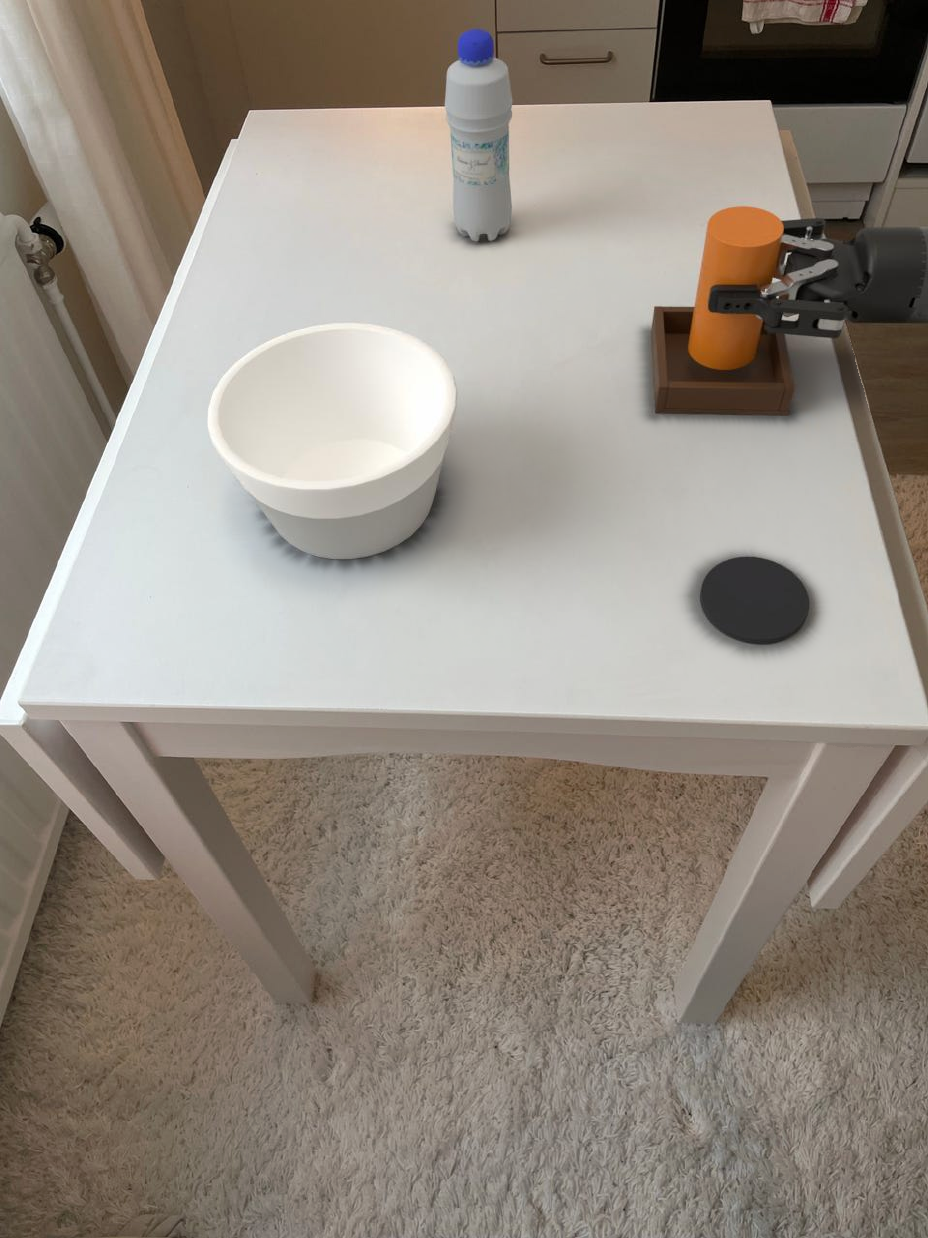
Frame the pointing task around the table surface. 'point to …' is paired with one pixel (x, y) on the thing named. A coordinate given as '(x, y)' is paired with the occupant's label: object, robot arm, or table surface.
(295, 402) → the bowl
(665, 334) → the tray
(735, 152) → the table surface
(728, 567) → the coaster
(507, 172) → the bottle
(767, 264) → the orange cylinder
